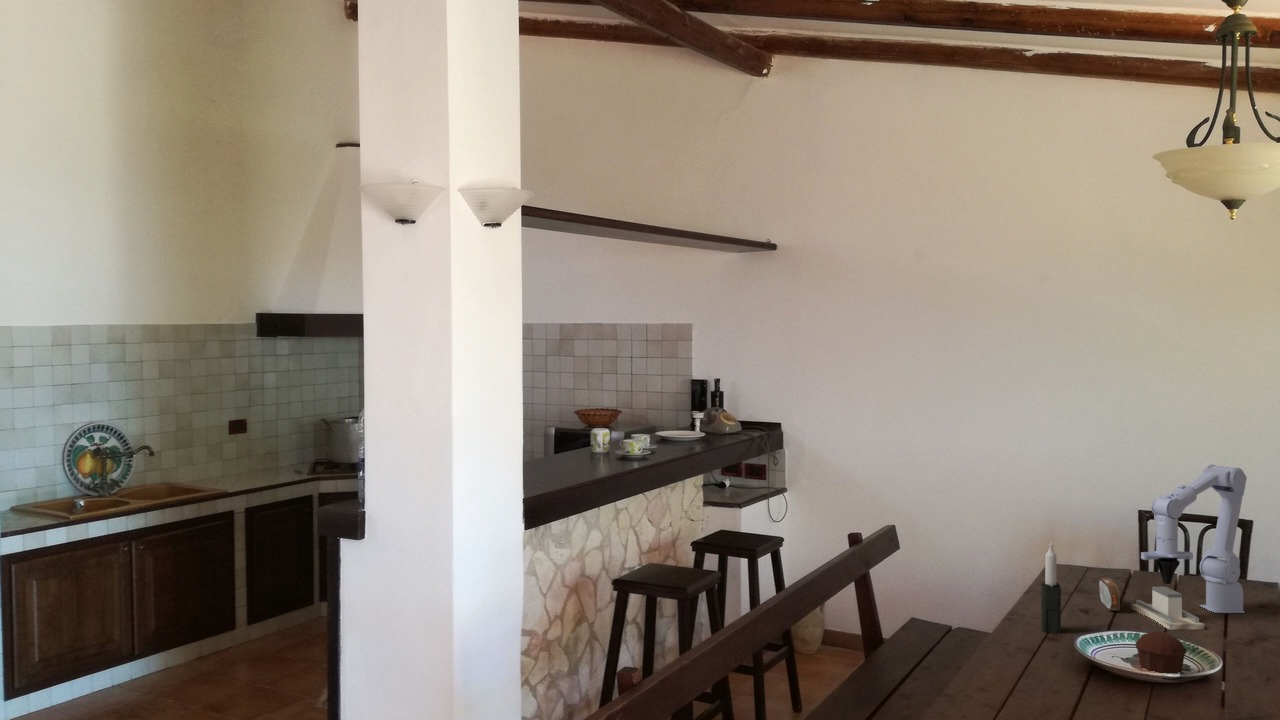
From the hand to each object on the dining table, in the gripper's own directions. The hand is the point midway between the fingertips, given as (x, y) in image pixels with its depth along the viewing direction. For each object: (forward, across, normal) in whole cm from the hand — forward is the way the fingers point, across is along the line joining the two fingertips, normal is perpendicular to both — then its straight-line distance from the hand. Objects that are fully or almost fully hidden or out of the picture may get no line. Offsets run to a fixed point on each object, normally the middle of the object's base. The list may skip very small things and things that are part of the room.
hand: (1166, 583), depth 296 cm
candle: (+10, -40, -12) cm, 43 cm away
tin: (+11, -12, +12) cm, 20 cm away
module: (+9, 0, -1) cm, 9 cm away
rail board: (+10, 0, -1) cm, 10 cm away
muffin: (+10, -28, -49) cm, 57 cm away
